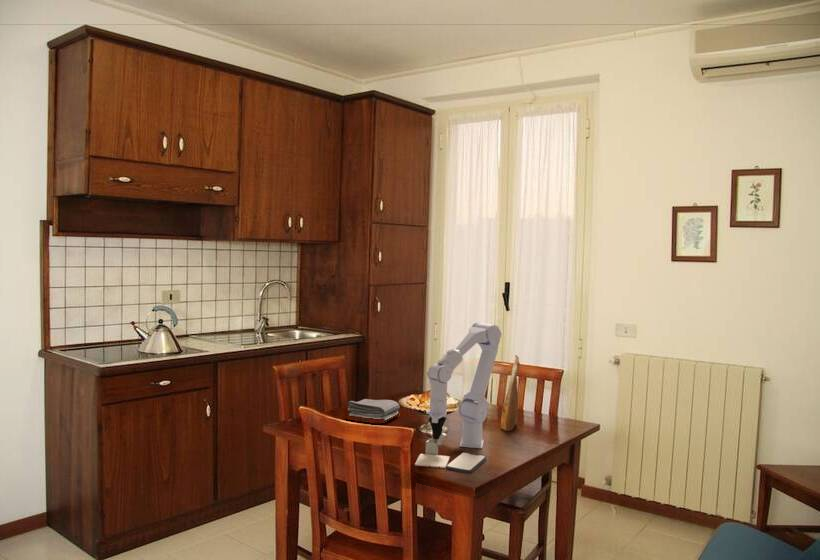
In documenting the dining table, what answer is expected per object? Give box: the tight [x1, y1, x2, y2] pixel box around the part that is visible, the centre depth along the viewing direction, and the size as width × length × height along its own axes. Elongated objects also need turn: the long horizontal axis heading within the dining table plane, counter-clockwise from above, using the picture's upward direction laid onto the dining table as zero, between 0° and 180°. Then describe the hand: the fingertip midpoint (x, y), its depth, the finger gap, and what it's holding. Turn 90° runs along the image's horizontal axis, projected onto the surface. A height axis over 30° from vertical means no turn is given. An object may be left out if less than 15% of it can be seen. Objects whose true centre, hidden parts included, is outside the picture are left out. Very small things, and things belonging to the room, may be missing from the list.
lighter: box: [424, 432, 447, 455], centre depth 216 cm, size 7×2×8 cm, turn 61°
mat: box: [414, 453, 451, 469], centre depth 210 cm, size 11×10×1 cm
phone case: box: [445, 452, 487, 474], centre depth 208 cm, size 9×2×16 cm
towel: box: [347, 398, 401, 420], centre depth 262 cm, size 15×18×8 cm
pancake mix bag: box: [500, 354, 521, 432], centre depth 256 cm, size 7×19×28 cm, turn 165°
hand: (436, 438), depth 219 cm, fingers closed
